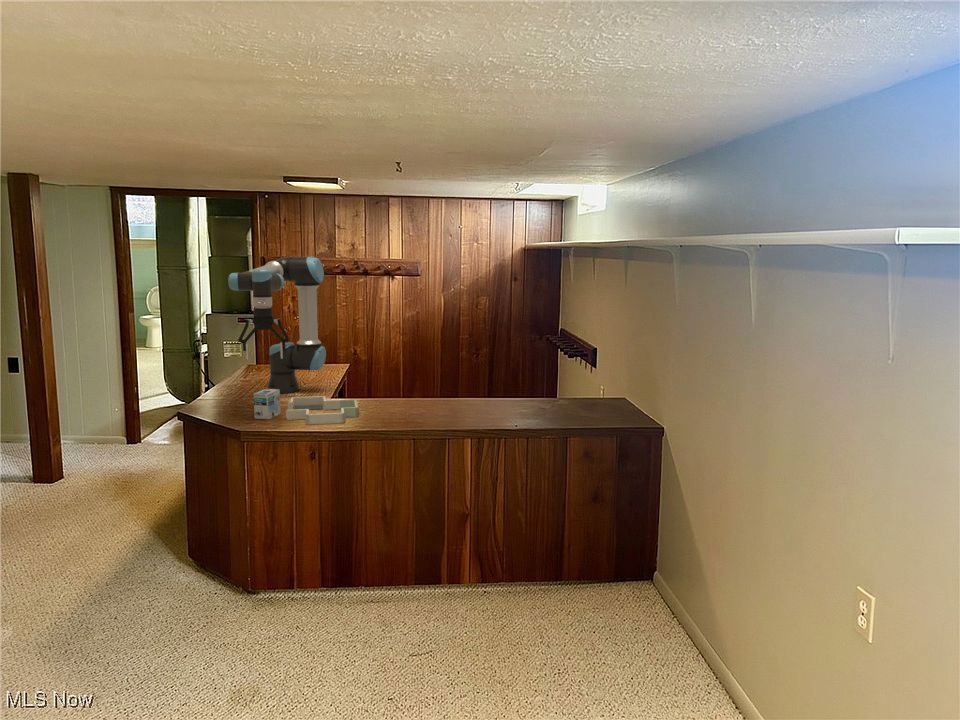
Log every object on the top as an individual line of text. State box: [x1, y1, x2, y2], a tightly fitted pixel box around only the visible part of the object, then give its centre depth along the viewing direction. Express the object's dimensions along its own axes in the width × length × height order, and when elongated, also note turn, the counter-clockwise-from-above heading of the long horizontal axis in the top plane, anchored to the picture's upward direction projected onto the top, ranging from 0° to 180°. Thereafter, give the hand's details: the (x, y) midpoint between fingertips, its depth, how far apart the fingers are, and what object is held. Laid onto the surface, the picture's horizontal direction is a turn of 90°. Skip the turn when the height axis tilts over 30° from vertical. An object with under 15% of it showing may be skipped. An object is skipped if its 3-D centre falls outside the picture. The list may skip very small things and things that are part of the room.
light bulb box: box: [253, 388, 281, 420], centre depth 302 cm, size 11×7×11 cm, turn 168°
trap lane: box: [285, 395, 359, 425], centre depth 307 cm, size 34×29×4 cm
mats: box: [293, 405, 324, 411], centre depth 307 cm, size 32×19×1 cm, turn 13°
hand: (264, 358), depth 299 cm, fingers open, 13 cm apart
